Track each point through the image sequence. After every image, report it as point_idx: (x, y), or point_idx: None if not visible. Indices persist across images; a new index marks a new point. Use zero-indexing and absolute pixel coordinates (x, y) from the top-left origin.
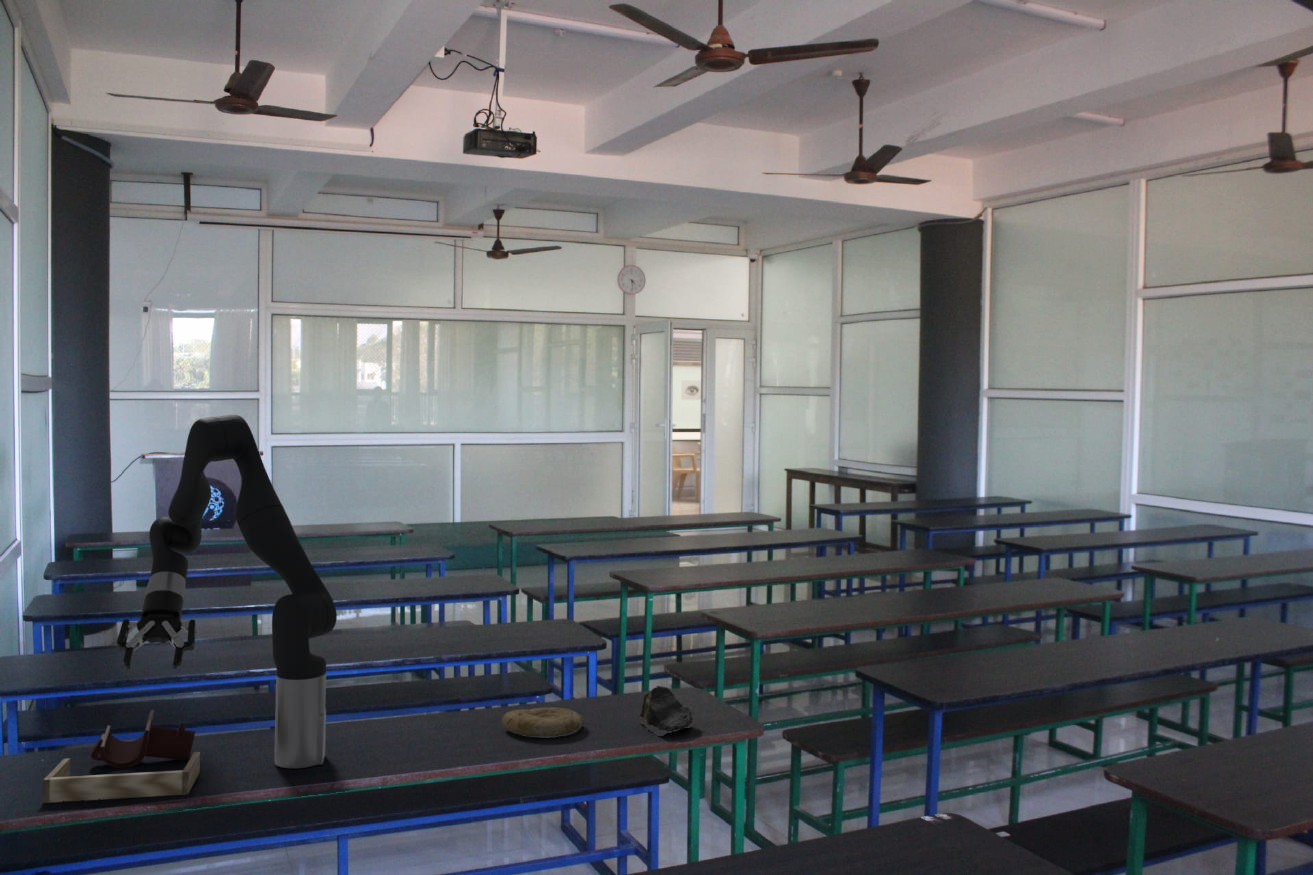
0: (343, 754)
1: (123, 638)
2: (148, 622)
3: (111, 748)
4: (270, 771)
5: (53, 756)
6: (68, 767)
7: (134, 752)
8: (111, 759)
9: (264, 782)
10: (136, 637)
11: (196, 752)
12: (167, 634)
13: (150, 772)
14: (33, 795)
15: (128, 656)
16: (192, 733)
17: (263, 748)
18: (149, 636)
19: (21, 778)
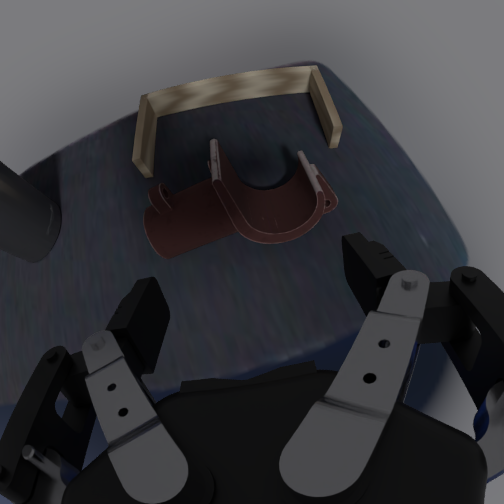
0: (5, 257)
1: (472, 295)
2: (379, 501)
3: (300, 194)
4: (67, 191)
5: (418, 257)
6: (330, 129)
7: (258, 203)
8: (289, 182)
9: (75, 157)
10: (398, 315)
11: (137, 157)
12: (159, 404)
13: (186, 87)
14: (342, 105)
15: (369, 247)
16: (147, 214)
17: (74, 291)
18: (308, 373)
19: (400, 160)
